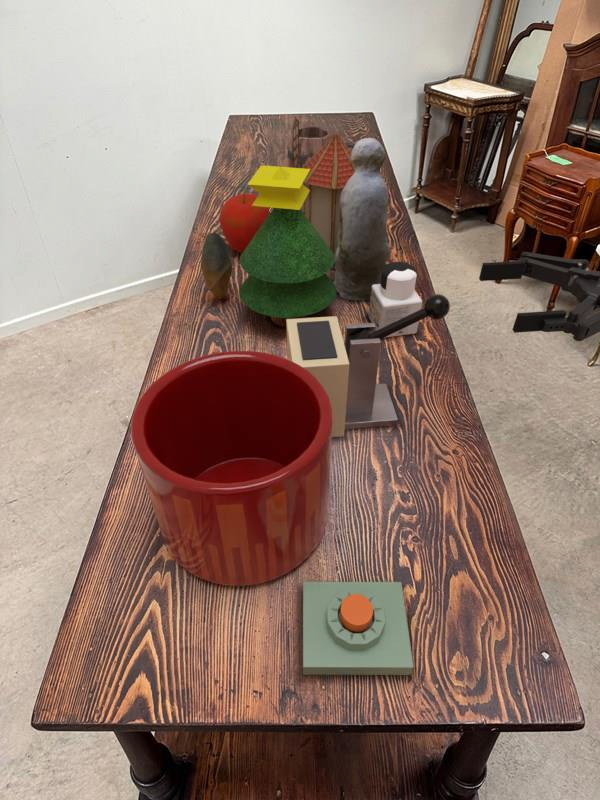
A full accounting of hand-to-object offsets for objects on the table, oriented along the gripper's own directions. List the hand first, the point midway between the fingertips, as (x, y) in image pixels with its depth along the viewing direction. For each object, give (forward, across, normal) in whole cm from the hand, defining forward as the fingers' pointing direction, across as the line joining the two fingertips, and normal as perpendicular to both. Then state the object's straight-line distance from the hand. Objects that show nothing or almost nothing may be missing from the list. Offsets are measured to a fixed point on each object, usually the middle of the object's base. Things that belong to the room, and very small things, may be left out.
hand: (497, 295), depth 78 cm
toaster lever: (+13, 0, -6) cm, 14 cm away
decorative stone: (+42, +37, -21) cm, 60 cm away
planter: (+38, -20, -21) cm, 48 cm away
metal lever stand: (+19, 0, -21) cm, 28 cm away
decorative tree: (+28, +29, -21) cm, 46 cm away
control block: (+26, -37, -21) cm, 50 cm away
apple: (+36, +58, -21) cm, 71 cm away
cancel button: (+26, -37, -17) cm, 49 cm away
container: (+8, +23, -21) cm, 32 cm away
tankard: (+15, +79, -21) cm, 83 cm away
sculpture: (+12, +38, -21) cm, 45 cm away
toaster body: (+26, 0, -21) cm, 34 cm away
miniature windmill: (+18, +56, -21) cm, 62 cm away
